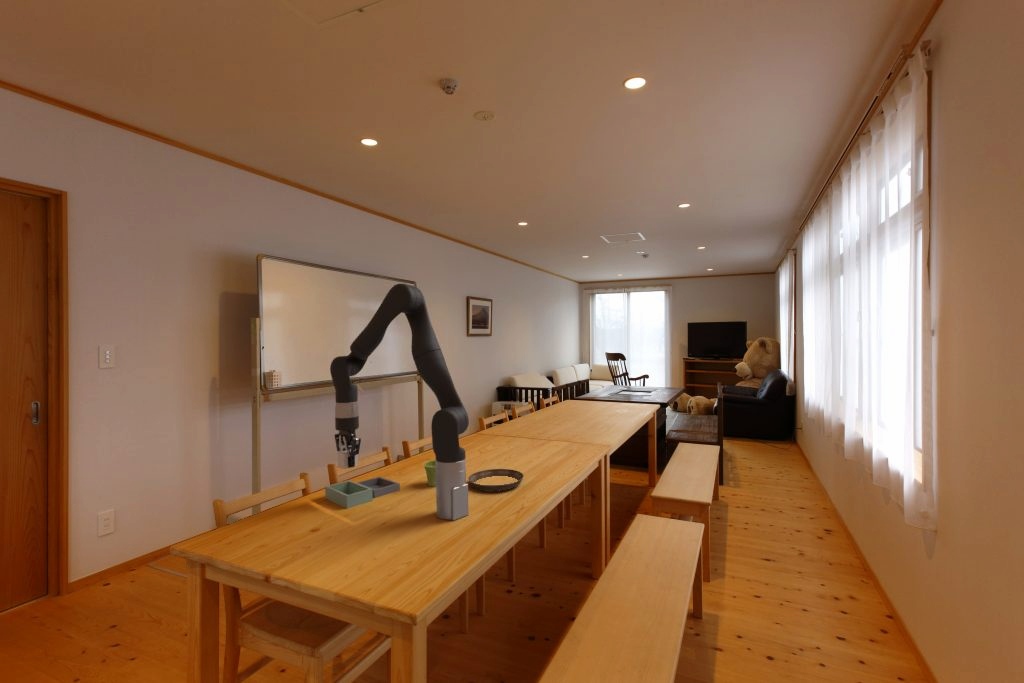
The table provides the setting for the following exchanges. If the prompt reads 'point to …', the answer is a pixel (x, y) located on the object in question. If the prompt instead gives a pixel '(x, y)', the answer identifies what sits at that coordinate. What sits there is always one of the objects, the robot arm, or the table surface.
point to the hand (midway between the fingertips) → (347, 465)
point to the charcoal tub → (381, 486)
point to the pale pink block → (345, 459)
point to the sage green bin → (348, 494)
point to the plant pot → (431, 472)
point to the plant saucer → (495, 472)
